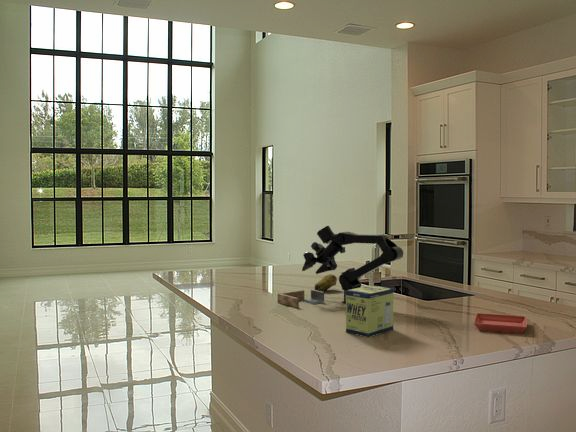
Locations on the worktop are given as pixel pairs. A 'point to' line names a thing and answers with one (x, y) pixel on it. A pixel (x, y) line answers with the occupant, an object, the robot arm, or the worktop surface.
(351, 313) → the protein box
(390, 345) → the worktop surface
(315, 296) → the bracket
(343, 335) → the worktop surface
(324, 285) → the potato
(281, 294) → the wooden corner frame
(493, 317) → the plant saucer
